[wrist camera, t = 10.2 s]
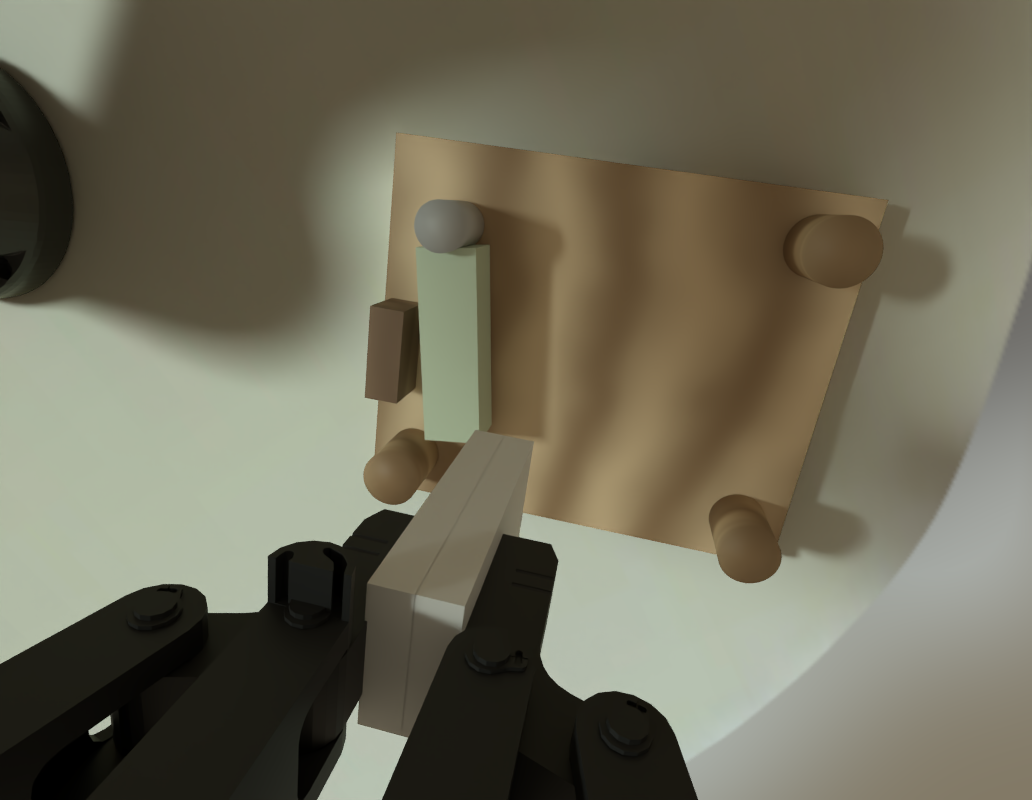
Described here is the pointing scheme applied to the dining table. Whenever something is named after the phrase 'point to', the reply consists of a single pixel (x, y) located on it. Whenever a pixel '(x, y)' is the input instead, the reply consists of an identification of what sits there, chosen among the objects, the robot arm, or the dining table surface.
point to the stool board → (632, 339)
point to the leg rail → (453, 320)
